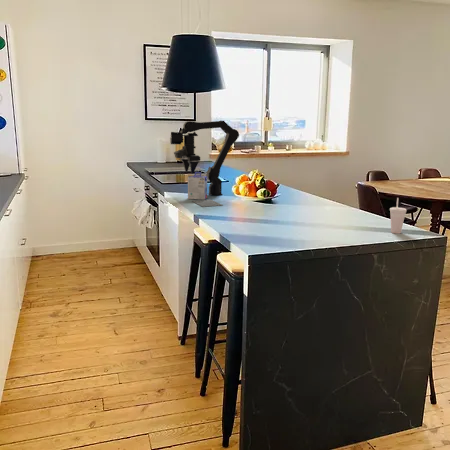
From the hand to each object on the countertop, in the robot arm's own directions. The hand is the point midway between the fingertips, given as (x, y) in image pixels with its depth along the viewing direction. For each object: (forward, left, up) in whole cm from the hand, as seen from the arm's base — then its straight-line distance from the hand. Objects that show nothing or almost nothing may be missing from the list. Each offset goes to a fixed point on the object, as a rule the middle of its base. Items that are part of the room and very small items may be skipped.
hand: (189, 172), depth 265 cm
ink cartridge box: (-1, +11, -13) cm, 18 cm away
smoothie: (-51, +109, -13) cm, 121 cm away
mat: (-1, +26, -13) cm, 29 cm away
